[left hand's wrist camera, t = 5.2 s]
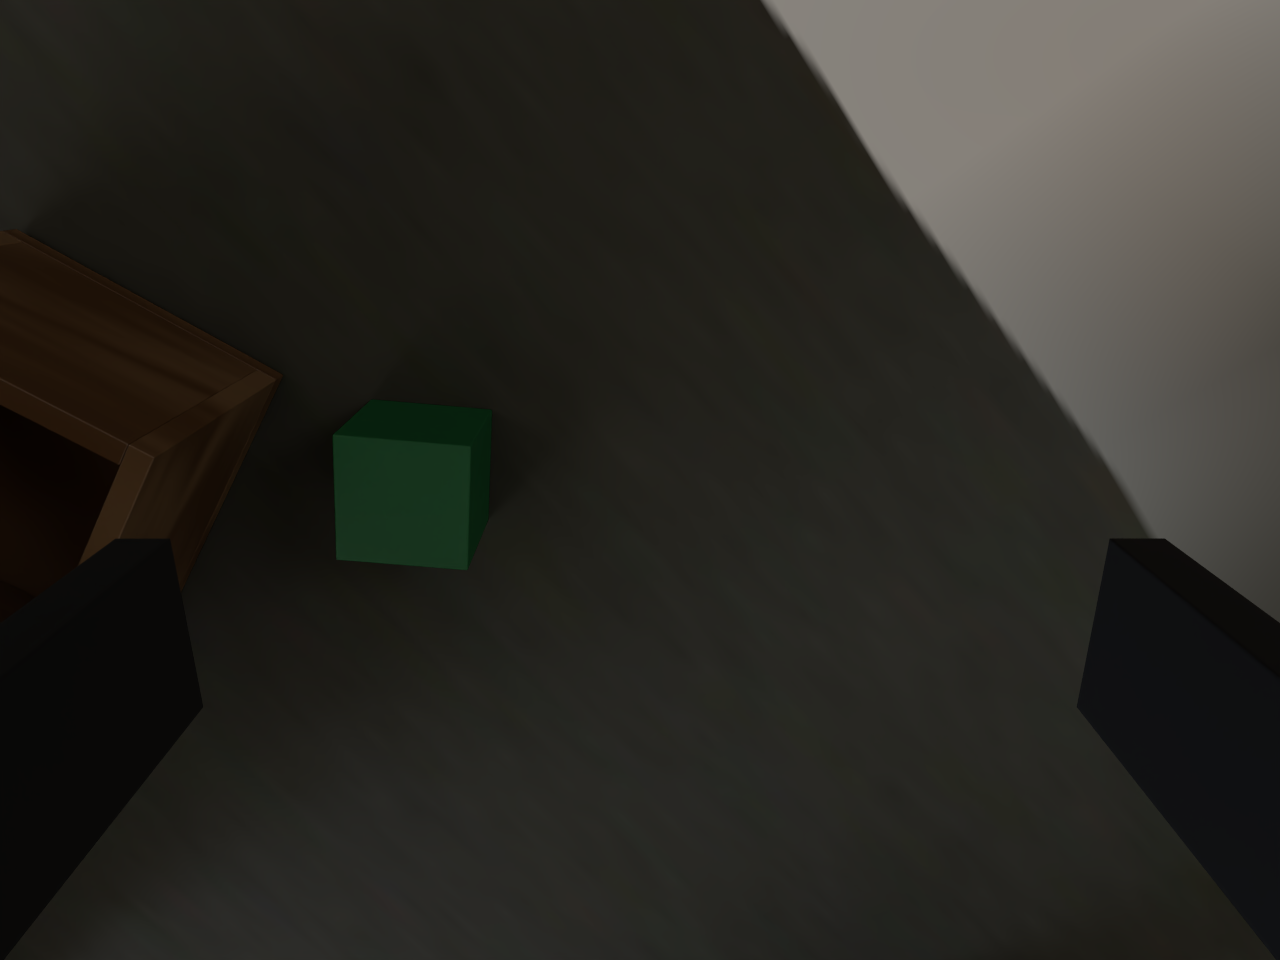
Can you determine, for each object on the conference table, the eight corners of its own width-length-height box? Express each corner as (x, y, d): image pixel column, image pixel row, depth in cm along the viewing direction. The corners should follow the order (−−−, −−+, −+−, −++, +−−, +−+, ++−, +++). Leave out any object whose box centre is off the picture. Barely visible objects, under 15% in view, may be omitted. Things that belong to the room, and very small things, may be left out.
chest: (16, 228, 38) (-227, 261, 27) (284, 374, 40) (154, 457, 29) (-91, 538, 43) (-329, 667, 32) (152, 654, 45) (1, 809, 35)
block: (370, 399, 40) (331, 434, 35) (492, 409, 41) (471, 446, 35) (372, 510, 42) (335, 560, 37) (488, 520, 43) (467, 570, 37)
